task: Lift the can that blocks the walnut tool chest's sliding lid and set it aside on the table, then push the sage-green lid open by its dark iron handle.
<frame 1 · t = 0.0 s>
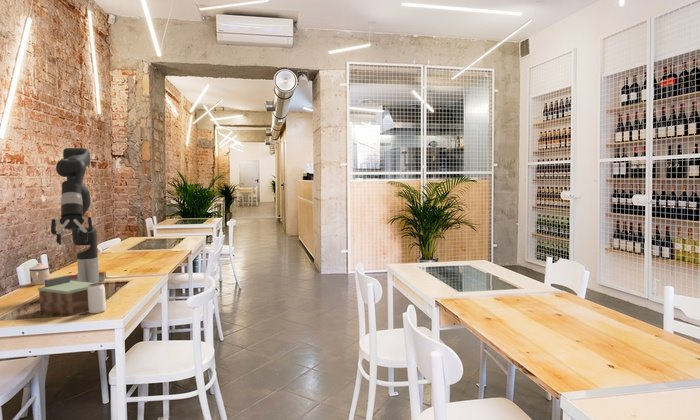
hand: (72, 243, 179), 31 cm above the table, tool tilted 20°, fingers open, 8 cm apart
lid: (69, 283, 197), point 11 cm above the table, slide at 0.0 cm
teacup with lid: (39, 284, 251), on the table
can: (97, 312, 192), on the table
chest: (70, 308, 198), on the table
hardcover book: (84, 282, 255), on the table
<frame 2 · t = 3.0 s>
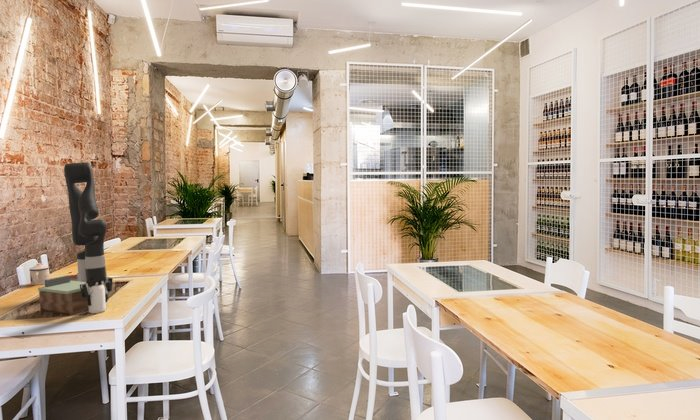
hand: (98, 304, 193), 3 cm above the table, tool pointing down, fingers closed on can, 5 cm apart
can: (97, 312, 192), on the table, touching gripper
everything else where it was.
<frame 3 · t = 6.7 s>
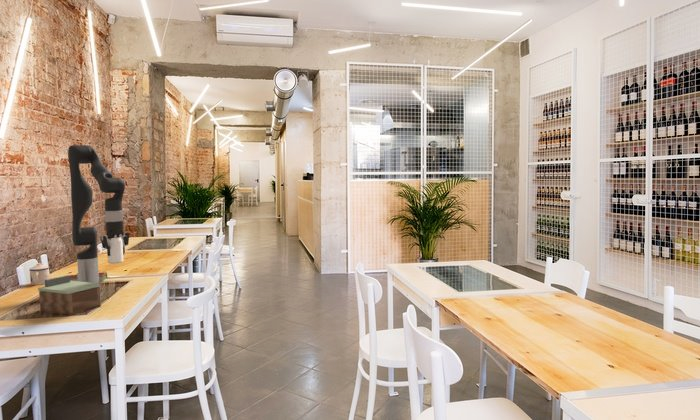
hand: (116, 255, 210), 21 cm above the table, tool pointing down, fingers closed on can, 5 cm apart
can: (115, 262, 210), point 18 cm above the table, touching gripper
when the fingers open (4 cm above the table, at t = 10.4 s): can drops 1 cm, on the table.
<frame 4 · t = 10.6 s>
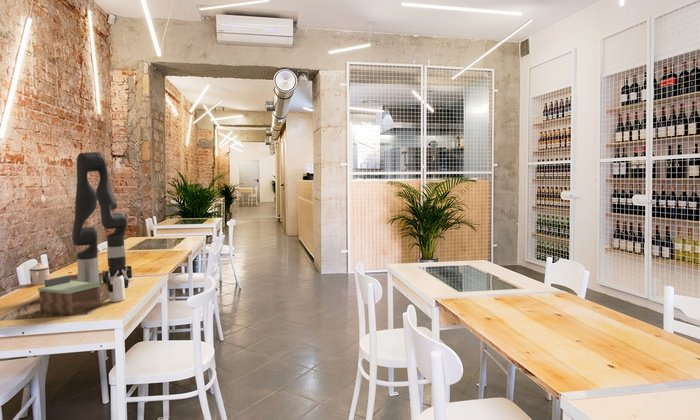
hand: (118, 289, 211), 5 cm above the table, tool pointing down, fingers open, 7 cm apart
can: (117, 300, 210), on the table
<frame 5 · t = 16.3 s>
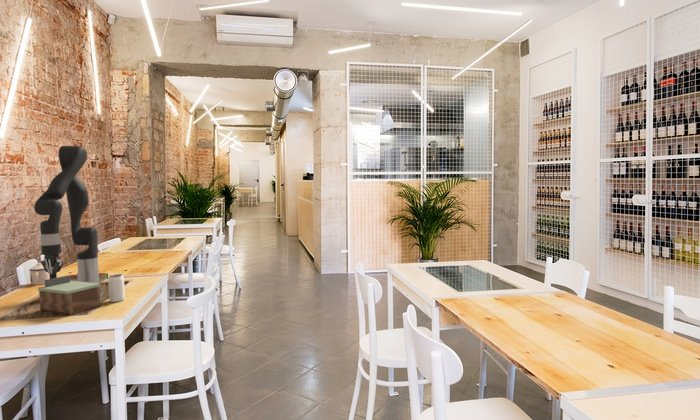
hand: (53, 281, 201), 12 cm above the table, tool pointing down, fingers closed
lid: (69, 283, 197), point 11 cm above the table, slide at 0.0 cm, touching gripper
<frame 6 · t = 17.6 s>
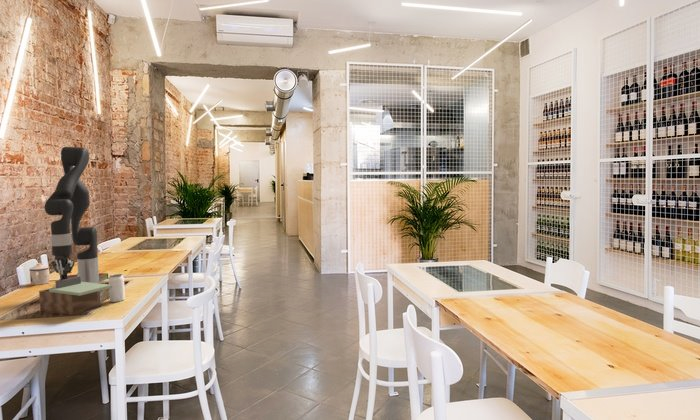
hand: (64, 282, 198), 12 cm above the table, tool pointing down, fingers closed
lid: (80, 284, 194), point 11 cm above the table, slide at 7.4 cm, touching gripper
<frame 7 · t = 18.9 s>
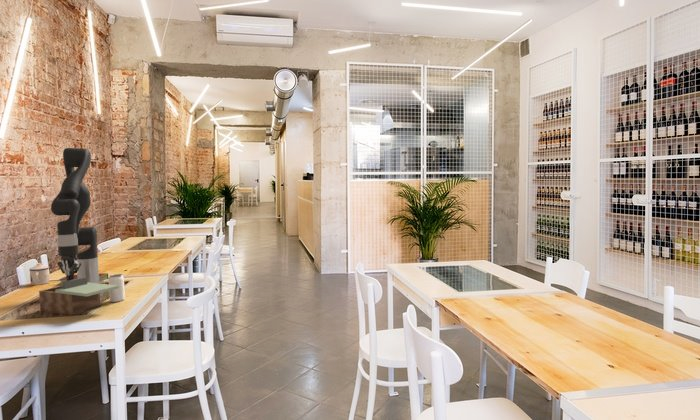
hand: (70, 283, 197), 12 cm above the table, tool pointing down, fingers closed
lid: (87, 285, 192), point 11 cm above the table, slide at 11.8 cm, touching gripper
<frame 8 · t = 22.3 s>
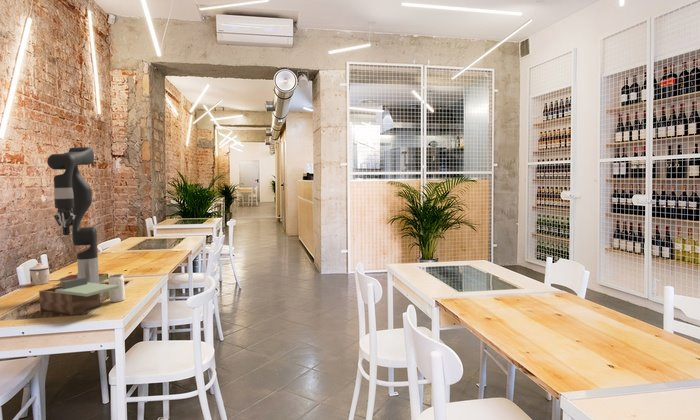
hand: (66, 235, 205), 32 cm above the table, tool pointing down, fingers closed
lid: (87, 285, 192), point 11 cm above the table, slide at 11.8 cm
at the end: lid slide at 11.8 cm; can inside the target area (0.8 cm from its centre), on the table; can tilted 0° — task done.
